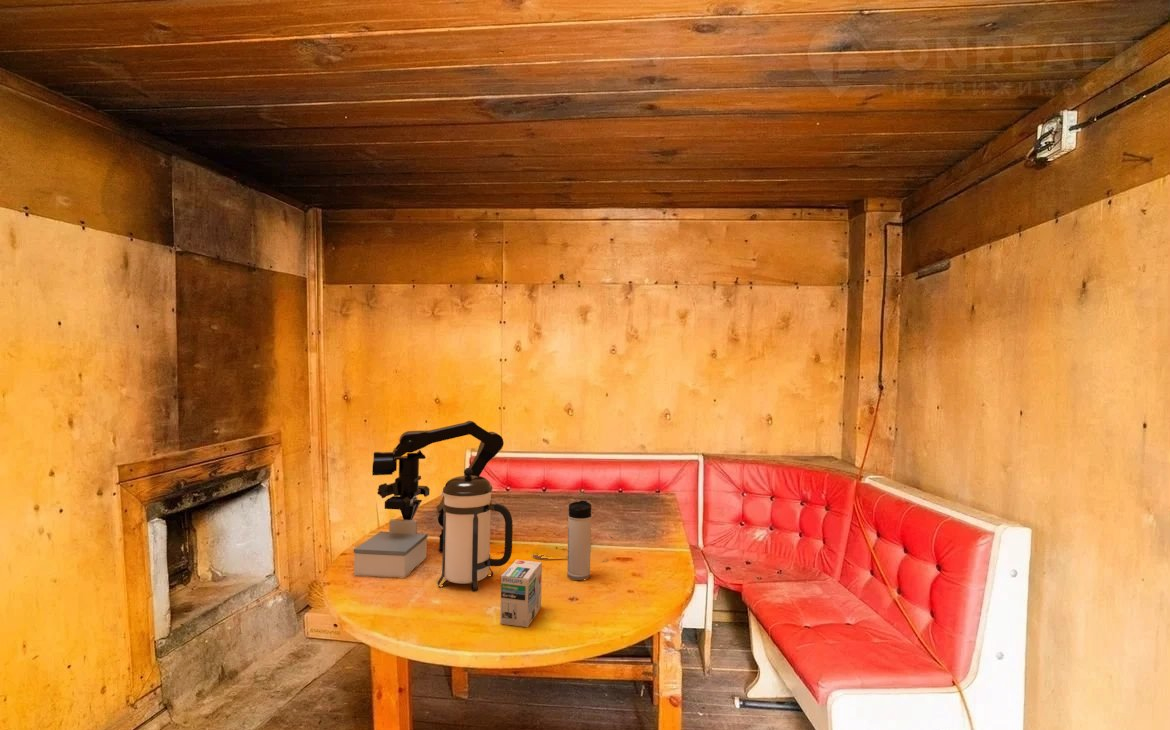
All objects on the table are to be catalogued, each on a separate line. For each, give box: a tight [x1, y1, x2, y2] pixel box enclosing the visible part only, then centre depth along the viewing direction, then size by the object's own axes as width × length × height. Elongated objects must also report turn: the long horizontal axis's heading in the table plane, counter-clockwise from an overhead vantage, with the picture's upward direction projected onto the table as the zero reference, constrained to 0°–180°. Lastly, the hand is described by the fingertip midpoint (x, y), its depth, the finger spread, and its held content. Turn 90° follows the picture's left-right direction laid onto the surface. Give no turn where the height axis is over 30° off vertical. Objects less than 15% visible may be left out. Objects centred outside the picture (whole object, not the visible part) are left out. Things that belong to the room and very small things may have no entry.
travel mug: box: [566, 499, 592, 581], centre depth 143 cm, size 6×7×20 cm
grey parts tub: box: [353, 537, 428, 579], centre depth 147 cm, size 14×15×6 cm
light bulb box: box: [500, 559, 543, 628], centre depth 120 cm, size 11×7×11 cm, turn 168°
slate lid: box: [353, 518, 428, 555], centre depth 147 cm, size 14×15×5 cm
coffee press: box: [436, 467, 514, 592], centre depth 138 cm, size 17×16×30 cm
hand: (407, 525), depth 157 cm, fingers closed
